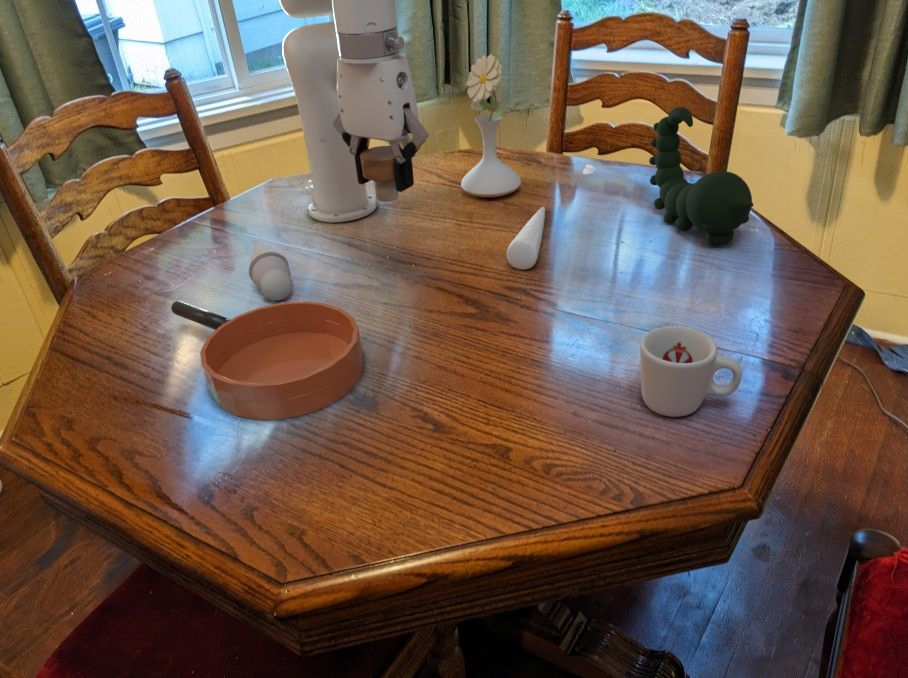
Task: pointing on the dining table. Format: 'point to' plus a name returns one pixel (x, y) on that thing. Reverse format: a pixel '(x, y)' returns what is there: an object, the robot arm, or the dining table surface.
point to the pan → (283, 360)
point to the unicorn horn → (527, 243)
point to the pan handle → (198, 315)
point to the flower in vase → (488, 135)
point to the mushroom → (380, 171)
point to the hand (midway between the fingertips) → (385, 183)
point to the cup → (681, 370)
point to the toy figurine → (696, 188)
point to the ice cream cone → (270, 272)
